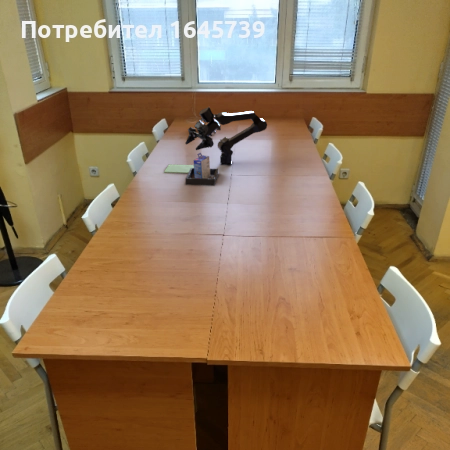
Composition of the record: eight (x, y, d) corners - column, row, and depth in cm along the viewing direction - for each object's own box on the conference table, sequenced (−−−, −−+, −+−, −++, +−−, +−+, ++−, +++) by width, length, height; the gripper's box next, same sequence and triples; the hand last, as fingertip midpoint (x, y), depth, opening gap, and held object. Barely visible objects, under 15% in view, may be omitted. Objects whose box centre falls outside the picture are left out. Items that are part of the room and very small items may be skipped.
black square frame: (218, 174, 262) (218, 168, 260) (214, 185, 247) (214, 179, 245) (190, 173, 263) (190, 167, 261) (185, 184, 249) (185, 178, 247)
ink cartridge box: (202, 176, 260) (201, 150, 252) (210, 177, 258) (210, 151, 250) (193, 181, 253) (192, 155, 244) (202, 182, 251) (201, 156, 242)
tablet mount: (208, 143, 341) (220, 125, 333) (192, 131, 337) (205, 113, 329) (211, 134, 363) (223, 117, 355) (196, 123, 359) (208, 105, 351)
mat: (201, 166, 275) (201, 165, 275) (197, 173, 263) (197, 172, 263) (168, 165, 277) (168, 164, 276) (164, 172, 265) (164, 171, 265)
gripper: (194, 112, 261) (175, 130, 259) (215, 123, 252) (196, 141, 250) (200, 127, 271) (182, 144, 268) (221, 138, 262) (202, 156, 259)
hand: (190, 146), depth 261 cm, fingers open, 9 cm apart
